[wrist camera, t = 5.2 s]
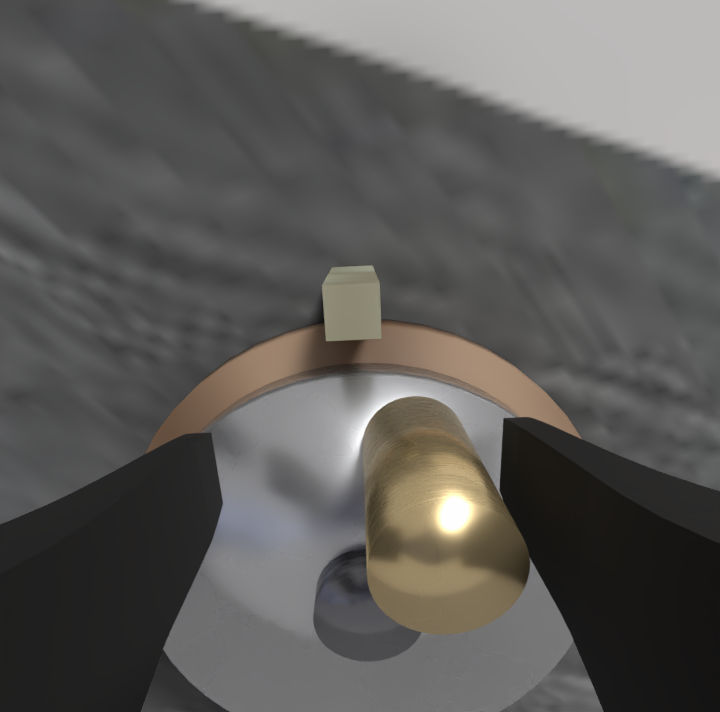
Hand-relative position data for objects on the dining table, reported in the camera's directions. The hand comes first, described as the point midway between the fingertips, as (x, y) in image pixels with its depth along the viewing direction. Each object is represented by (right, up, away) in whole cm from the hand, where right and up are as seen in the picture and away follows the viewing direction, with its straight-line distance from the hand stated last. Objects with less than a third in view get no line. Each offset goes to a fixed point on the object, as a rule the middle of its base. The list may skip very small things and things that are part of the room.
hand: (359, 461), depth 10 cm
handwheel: (0, -4, +4) cm, 6 cm away
